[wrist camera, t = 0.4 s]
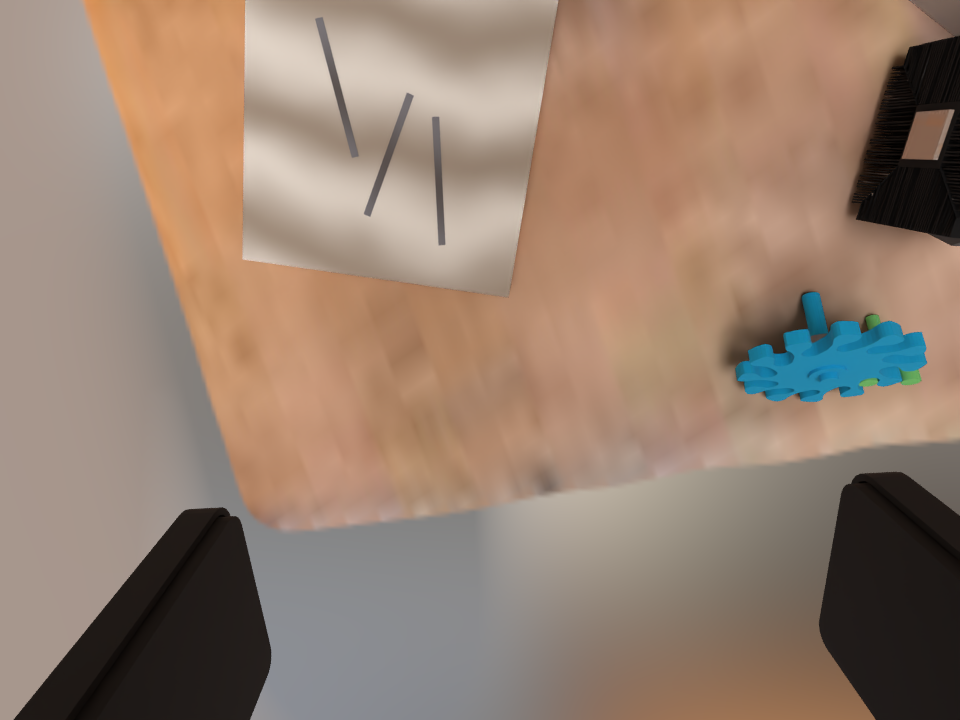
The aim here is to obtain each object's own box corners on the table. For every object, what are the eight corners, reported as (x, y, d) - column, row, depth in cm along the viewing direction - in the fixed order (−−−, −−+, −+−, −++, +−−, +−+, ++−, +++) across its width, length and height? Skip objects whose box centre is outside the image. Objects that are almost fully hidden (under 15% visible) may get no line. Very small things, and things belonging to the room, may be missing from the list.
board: (259, -44, 31) (245, -56, 30) (554, 7, 32) (558, -3, 30) (254, 253, 37) (242, 259, 35) (507, 290, 38) (508, 297, 36)
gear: (705, 399, 38) (821, 331, 30) (696, 319, 41) (800, 235, 32) (848, 419, 41) (995, 363, 32) (831, 343, 43) (963, 271, 34)
